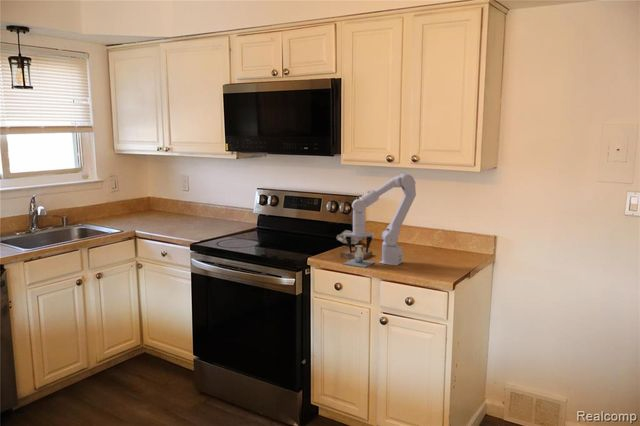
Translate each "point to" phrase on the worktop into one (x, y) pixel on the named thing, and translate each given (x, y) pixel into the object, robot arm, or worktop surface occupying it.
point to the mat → (364, 264)
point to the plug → (358, 254)
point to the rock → (353, 240)
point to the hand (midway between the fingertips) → (358, 252)
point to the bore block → (352, 255)
